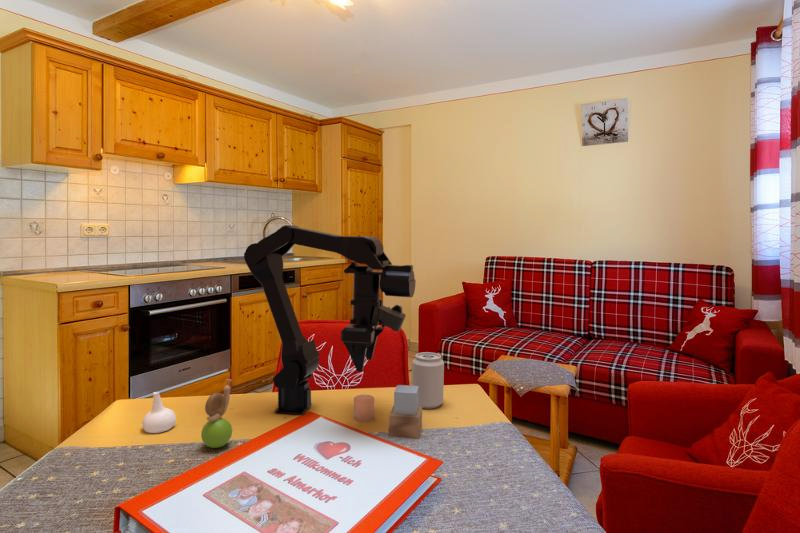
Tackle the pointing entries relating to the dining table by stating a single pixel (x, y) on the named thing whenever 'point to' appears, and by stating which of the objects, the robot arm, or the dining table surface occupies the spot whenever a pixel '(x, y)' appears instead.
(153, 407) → the garlic bulb
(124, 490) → the dining table surface
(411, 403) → the slate cube
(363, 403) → the terracotta cylinder
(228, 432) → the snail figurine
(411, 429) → the walnut base block
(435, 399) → the can
